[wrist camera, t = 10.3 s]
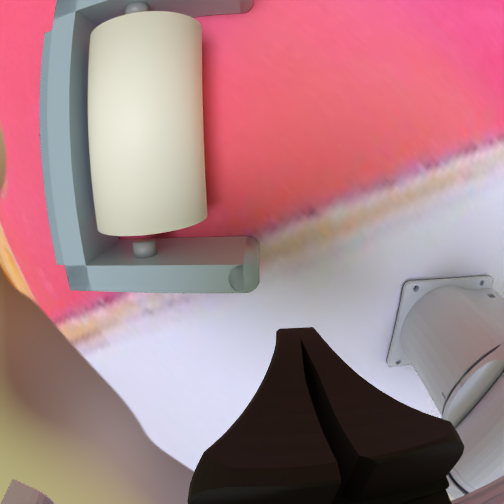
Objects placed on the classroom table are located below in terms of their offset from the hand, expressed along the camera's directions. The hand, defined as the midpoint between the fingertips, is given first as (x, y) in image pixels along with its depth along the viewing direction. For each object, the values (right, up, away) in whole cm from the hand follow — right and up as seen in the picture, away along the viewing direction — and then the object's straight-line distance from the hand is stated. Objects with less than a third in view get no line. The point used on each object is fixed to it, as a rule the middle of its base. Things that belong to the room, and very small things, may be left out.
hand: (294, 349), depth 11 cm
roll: (-7, +11, +4) cm, 14 cm away
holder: (-9, +12, +7) cm, 16 cm away
